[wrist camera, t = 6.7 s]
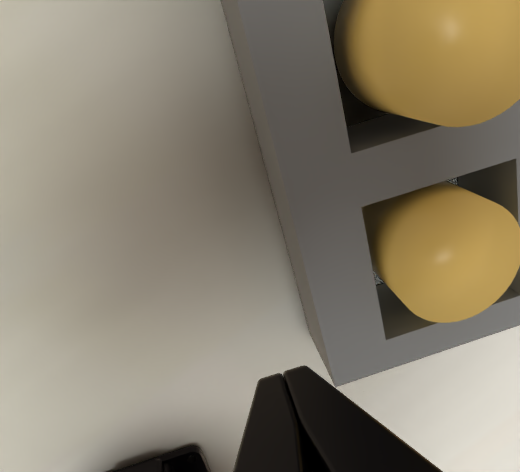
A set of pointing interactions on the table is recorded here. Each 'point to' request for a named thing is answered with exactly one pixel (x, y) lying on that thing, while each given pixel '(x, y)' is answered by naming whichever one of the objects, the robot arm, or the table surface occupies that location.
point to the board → (357, 188)
